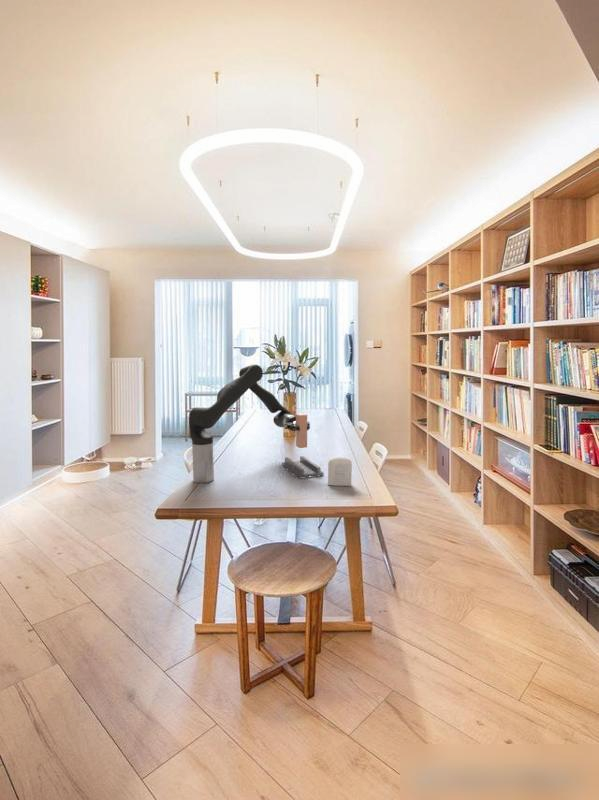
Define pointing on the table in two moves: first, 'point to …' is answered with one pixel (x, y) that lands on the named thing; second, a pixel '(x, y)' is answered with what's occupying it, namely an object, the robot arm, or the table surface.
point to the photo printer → (339, 471)
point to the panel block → (301, 430)
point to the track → (302, 467)
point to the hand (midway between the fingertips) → (303, 428)
